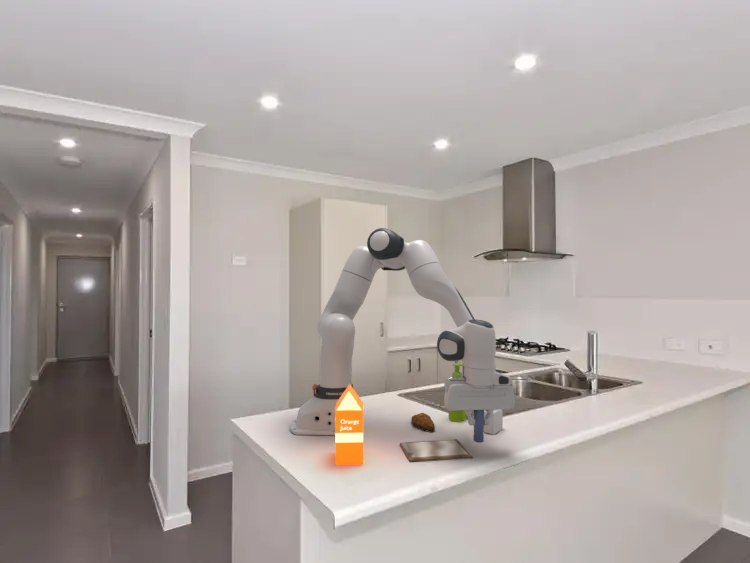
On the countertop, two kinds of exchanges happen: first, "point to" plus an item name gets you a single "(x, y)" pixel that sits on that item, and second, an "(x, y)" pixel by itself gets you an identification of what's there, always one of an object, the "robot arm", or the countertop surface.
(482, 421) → the marker
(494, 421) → the medicine bottle
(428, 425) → the croissant
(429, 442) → the metal serving tray
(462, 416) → the soap dispenser
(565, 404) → the countertop surface
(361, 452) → the orange juice
